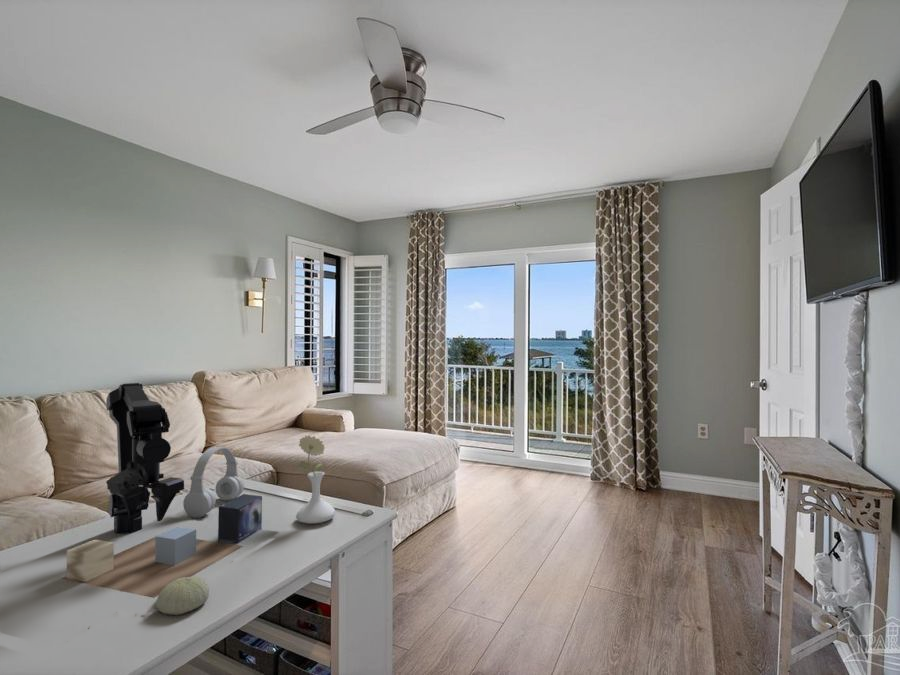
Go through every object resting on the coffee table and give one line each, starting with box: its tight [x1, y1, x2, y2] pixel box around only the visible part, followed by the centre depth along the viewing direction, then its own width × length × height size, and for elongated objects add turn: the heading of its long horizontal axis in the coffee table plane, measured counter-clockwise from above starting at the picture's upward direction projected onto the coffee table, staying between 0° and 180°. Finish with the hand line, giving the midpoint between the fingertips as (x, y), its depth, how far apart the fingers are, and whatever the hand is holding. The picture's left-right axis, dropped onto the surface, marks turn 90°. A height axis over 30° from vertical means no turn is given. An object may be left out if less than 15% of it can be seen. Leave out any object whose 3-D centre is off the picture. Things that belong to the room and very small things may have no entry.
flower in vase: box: [295, 435, 336, 525], centre depth 138 cm, size 13×11×25 cm
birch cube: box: [65, 539, 115, 582], centre depth 103 cm, size 6×6×6 cm
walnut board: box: [60, 536, 244, 599], centre depth 109 cm, size 27×25×1 cm
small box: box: [217, 493, 263, 544], centre depth 124 cm, size 11×6×10 cm, turn 168°
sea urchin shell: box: [155, 576, 210, 616], centre depth 93 cm, size 9×8×8 cm
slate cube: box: [154, 526, 197, 565], centre depth 111 cm, size 6×6×6 cm
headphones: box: [183, 446, 245, 519], centre depth 149 cm, size 20×8×19 cm, turn 172°
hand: (145, 518), depth 114 cm, fingers open, 9 cm apart
